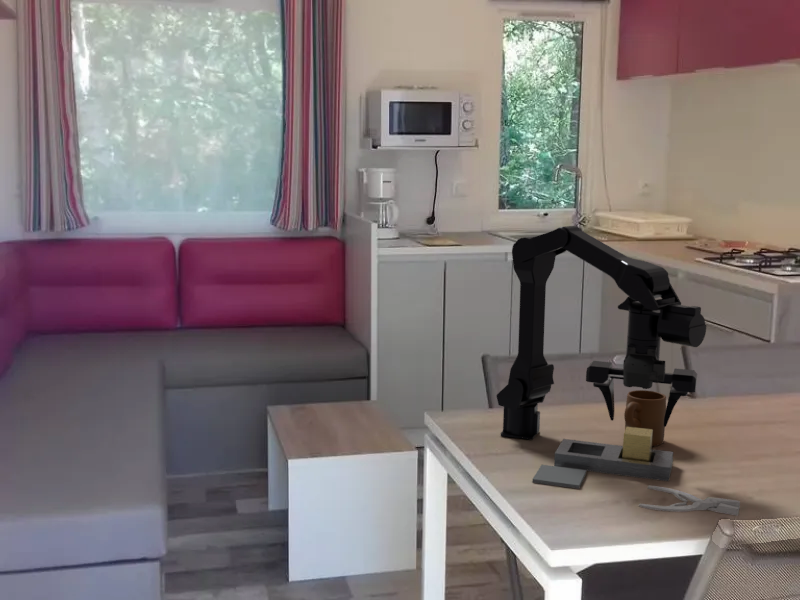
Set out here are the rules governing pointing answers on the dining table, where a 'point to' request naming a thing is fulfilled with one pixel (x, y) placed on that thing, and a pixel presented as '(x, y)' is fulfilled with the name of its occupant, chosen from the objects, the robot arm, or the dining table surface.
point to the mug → (646, 413)
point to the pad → (559, 476)
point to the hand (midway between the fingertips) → (638, 422)
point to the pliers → (695, 503)
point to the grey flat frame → (612, 460)
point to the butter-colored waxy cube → (637, 444)
